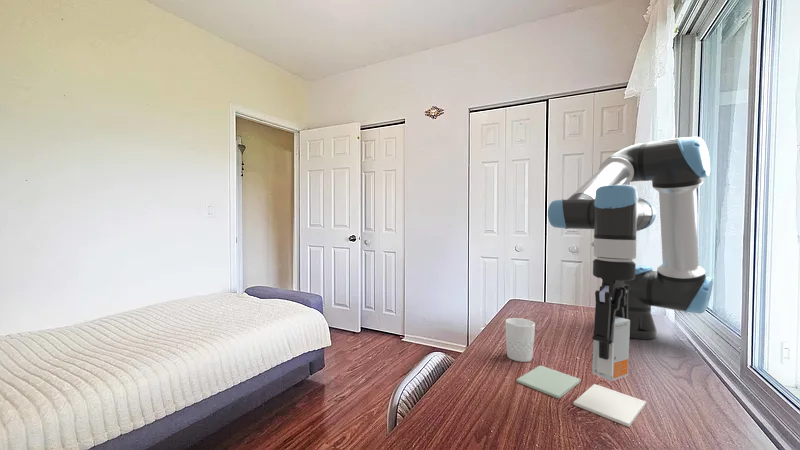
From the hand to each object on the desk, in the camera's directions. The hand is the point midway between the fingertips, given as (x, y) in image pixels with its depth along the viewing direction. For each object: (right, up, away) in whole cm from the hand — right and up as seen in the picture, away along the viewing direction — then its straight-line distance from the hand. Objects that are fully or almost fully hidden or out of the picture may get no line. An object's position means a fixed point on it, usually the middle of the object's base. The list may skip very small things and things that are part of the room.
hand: (610, 368), depth 71 cm
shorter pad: (-9, -7, +10) cm, 15 cm away
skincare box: (0, -2, 0) cm, 2 cm away
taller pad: (0, -8, 0) cm, 8 cm away
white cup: (-11, -7, +24) cm, 27 cm away
